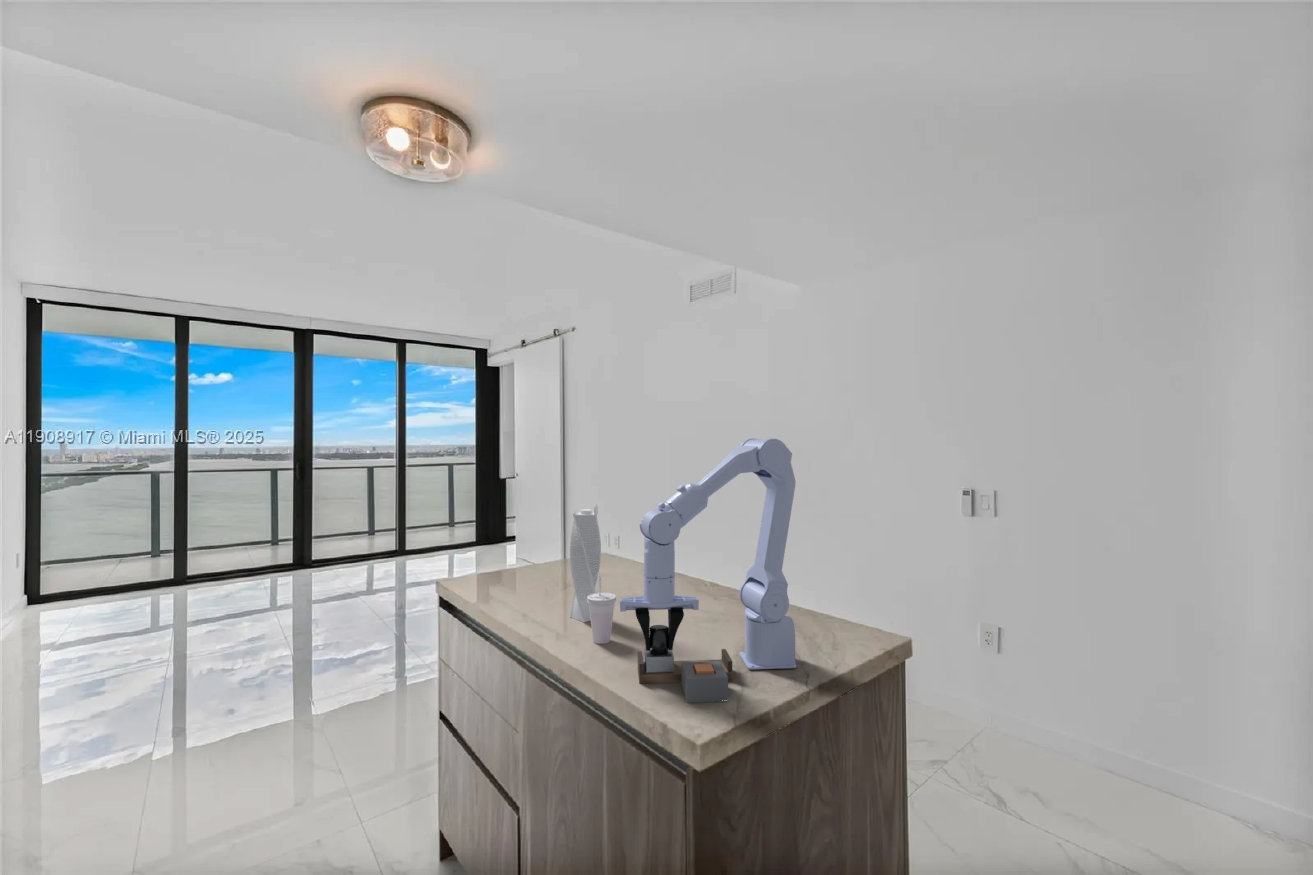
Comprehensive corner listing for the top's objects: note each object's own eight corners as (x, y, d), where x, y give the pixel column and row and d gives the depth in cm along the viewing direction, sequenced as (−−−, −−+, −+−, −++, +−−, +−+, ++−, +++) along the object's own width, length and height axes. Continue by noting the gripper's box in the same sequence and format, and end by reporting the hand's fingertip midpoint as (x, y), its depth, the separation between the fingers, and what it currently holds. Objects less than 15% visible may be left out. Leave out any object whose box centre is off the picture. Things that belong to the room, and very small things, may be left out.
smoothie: (601, 633, 129) (601, 571, 129) (622, 640, 125) (622, 576, 124) (580, 641, 124) (580, 576, 124) (601, 648, 120) (601, 581, 120)
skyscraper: (608, 617, 140) (608, 503, 140) (584, 625, 134) (584, 506, 134) (587, 611, 145) (587, 500, 145) (563, 617, 140) (564, 503, 140)
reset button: (710, 684, 101) (711, 663, 101) (714, 691, 98) (714, 670, 98) (694, 684, 101) (694, 664, 101) (696, 692, 98) (696, 671, 98)
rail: (725, 667, 110) (725, 649, 110) (732, 680, 104) (732, 661, 104) (637, 669, 109) (637, 651, 109) (639, 683, 103) (639, 664, 103)
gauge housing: (719, 683, 103) (719, 661, 103) (728, 701, 96) (728, 677, 96) (681, 684, 102) (681, 662, 102) (686, 702, 95) (686, 678, 95)
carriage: (670, 661, 109) (670, 623, 109) (673, 671, 104) (673, 632, 104) (644, 661, 108) (644, 623, 108) (646, 672, 103) (646, 632, 103)
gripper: (694, 569, 111) (694, 639, 111) (619, 570, 109) (619, 641, 109) (700, 578, 104) (700, 653, 104) (620, 580, 102) (620, 655, 102)
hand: (659, 648), depth 106 cm, fingers closed on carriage, 3 cm apart
